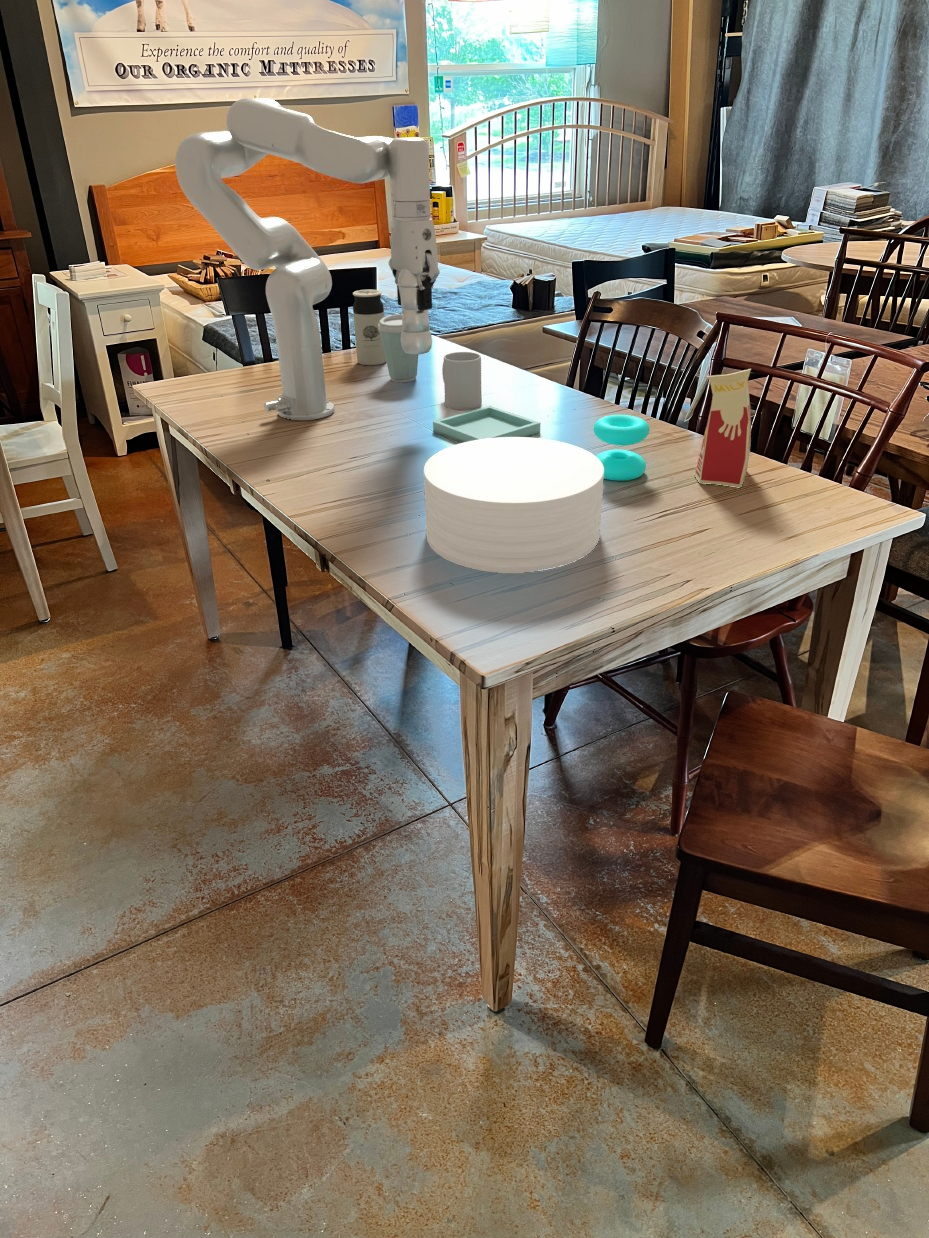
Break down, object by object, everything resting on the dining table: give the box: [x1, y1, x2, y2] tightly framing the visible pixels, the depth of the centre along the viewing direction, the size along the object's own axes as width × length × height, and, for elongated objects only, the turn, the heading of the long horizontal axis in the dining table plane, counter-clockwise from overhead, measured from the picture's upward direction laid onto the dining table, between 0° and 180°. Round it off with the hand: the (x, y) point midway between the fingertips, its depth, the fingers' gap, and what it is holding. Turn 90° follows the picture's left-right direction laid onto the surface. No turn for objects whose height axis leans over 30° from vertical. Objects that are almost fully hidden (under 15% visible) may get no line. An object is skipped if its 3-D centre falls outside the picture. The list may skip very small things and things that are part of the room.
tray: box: [432, 405, 541, 443], centre depth 182 cm, size 16×16×2 cm
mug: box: [441, 351, 483, 411], centre depth 198 cm, size 12×8×11 cm
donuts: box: [593, 414, 650, 482], centre depth 159 cm, size 10×10×10 cm
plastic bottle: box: [398, 269, 433, 356], centre depth 177 cm, size 6×7×20 cm
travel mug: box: [352, 289, 387, 366], centre depth 229 cm, size 8×8×18 cm
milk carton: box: [694, 368, 752, 488], centre depth 154 cm, size 9×9×20 cm
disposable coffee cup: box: [377, 313, 419, 383], centre depth 215 cm, size 11×11×15 cm
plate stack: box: [423, 436, 605, 574], centre depth 138 cm, size 28×28×12 cm
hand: (414, 306), depth 177 cm, fingers closed on plastic bottle, 6 cm apart
